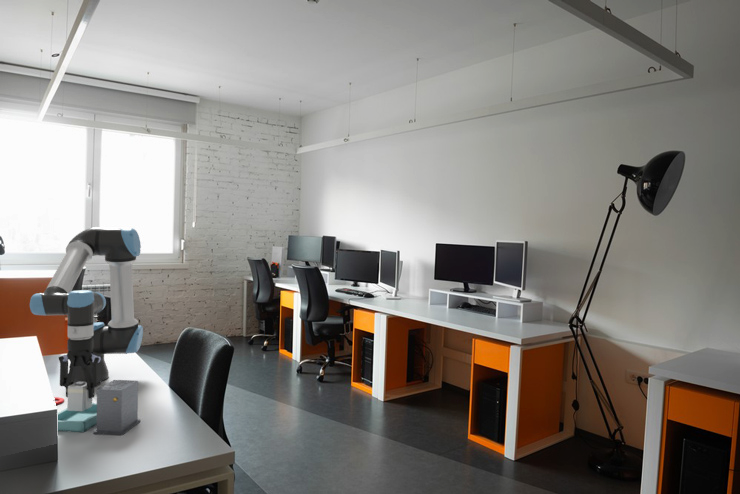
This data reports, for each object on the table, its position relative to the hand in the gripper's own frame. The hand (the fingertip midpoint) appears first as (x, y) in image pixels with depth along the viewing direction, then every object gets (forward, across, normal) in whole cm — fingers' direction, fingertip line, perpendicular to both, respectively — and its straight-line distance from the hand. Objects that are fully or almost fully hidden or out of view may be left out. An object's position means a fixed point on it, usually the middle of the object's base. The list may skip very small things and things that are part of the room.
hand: (80, 407), depth 170 cm
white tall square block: (0, 0, 0) cm, 0 cm away
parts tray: (+5, 0, 0) cm, 5 cm away
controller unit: (+5, +15, -4) cm, 16 cm away
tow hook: (+5, -21, +15) cm, 26 cm away
